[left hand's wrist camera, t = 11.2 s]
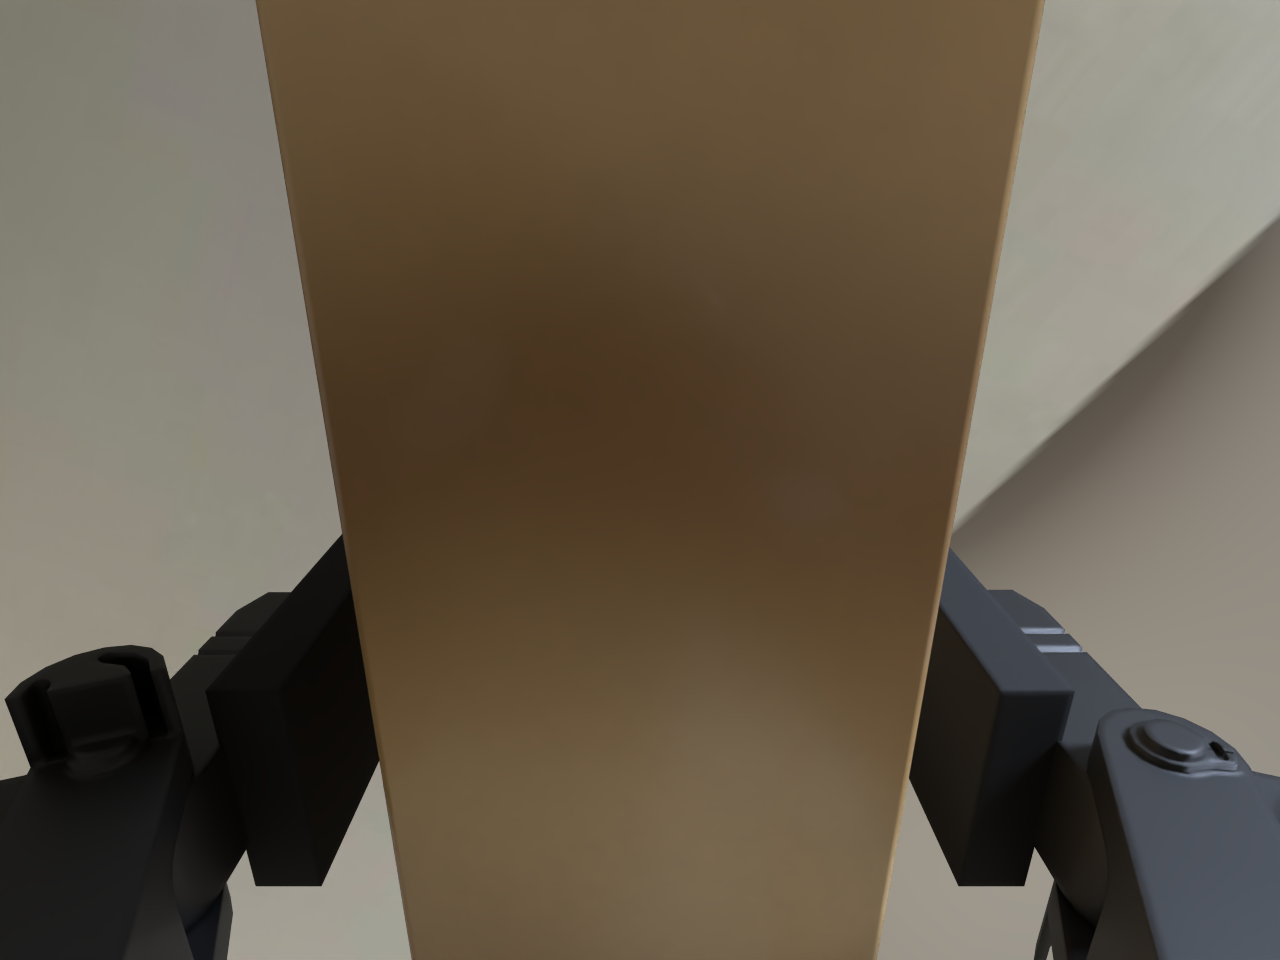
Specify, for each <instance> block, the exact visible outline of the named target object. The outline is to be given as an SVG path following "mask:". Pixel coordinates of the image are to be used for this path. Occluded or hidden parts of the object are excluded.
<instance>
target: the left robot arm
mask: <svg viewBox="0 0 1280 960" xmlns="http://www.w3.org/2000/svg"><path fill="white" fill-rule="evenodd" d="M198 651H199V653H198V655H193V656H192V657H191V659H190V660H189V661H188V662H187V663H186V664H185V665H184V666H183V667H182V668H181V669H180V670H179V671H178V672H177V673H176V674H175V675H174V676H173V677H172V678H171V679H169V675H168V671H167V668H166V664H165V661H164V657H163V656H162V655H161V654H160V653H158V652H157V651H155V650H154V649H152V648H149V647H142V646H135V645H126V646H115V647H104V648H101V649H97V650H93V651H89V652H85V653H81V654H77V655H74V656H72V657H69V658H67V659H64V660H62V661H60V662H57V663H55V664H52V665H50V666H48V667H45V668H44V669H42V670H40V671H39V672H37V673H36V674H34V675H32V676H31V677H29V678H27V679H26V680H24V681H23V682H21V683H20V684H19V685H18V686H17V687H16V688H15V689H14V690H13V691H12V692H11V693H10V694H9V695H8V696H7V697H6V698H5V702H6V704H7V707H8V709H9V712H10V715H11V717H12V720H13V723H14V725H15V728H16V730H17V733H18V736H19V738H20V741H21V743H22V746H23V749H24V751H25V754H26V757H27V759H28V762H29V764H30V767H31V768H30V770H29V772H28V774H27V775H24V776H20V777H15V778H10V779H5V780H0V960H227V954H228V946H229V939H230V931H231V924H232V916H233V911H232V904H231V897H230V893H229V890H228V886H227V880H228V879H229V877H230V875H231V874H232V872H233V870H234V869H235V867H236V866H237V864H238V862H239V861H240V859H241V857H242V856H243V854H244V852H245V851H246V850H247V854H248V858H249V862H250V866H251V870H252V873H253V877H254V881H255V885H256V886H322V884H323V882H324V879H325V877H326V875H327V873H328V871H329V869H330V866H331V864H332V862H333V860H334V858H335V856H336V853H337V851H338V849H339V847H340V845H341V842H342V840H343V838H344V836H345V834H346V832H347V829H348V827H349V825H350V823H351V821H352V819H353V816H354V814H355V812H356V810H357V808H358V806H359V803H360V801H361V799H362V797H363V795H364V792H365V790H366V788H367V786H368V784H369V782H370V779H371V777H372V775H373V773H374V771H375V769H376V766H377V764H378V762H379V755H378V749H377V743H376V736H375V730H374V724H373V718H372V712H371V706H370V700H369V693H368V687H367V681H366V675H365V669H364V663H363V657H362V650H361V644H360V638H359V632H358V626H357V620H356V614H355V607H354V601H353V595H352V589H351V583H350V577H349V571H348V565H347V558H346V552H345V546H344V540H343V534H342V535H341V536H340V537H339V538H338V539H337V540H336V542H335V543H334V544H333V545H332V546H331V547H330V548H329V550H328V551H327V552H326V553H325V554H324V555H323V556H322V558H321V559H320V560H319V561H318V562H317V563H316V564H315V566H314V567H313V568H312V569H311V570H310V571H309V572H308V574H307V575H306V576H305V577H304V578H303V579H302V580H301V582H300V583H299V584H298V585H297V586H296V587H295V588H294V590H293V591H292V592H268V593H266V594H265V595H263V596H261V597H259V598H258V599H256V600H254V601H253V602H251V603H249V604H247V605H246V606H244V607H242V608H241V609H239V610H237V611H236V612H235V613H234V614H233V615H232V616H231V617H230V618H229V619H228V620H227V621H226V622H225V623H224V624H223V625H222V626H221V627H220V628H219V630H218V631H217V632H216V636H215V637H211V638H210V639H209V640H208V641H207V642H206V643H205V644H204V645H203V646H202V647H201V648H200V649H199V650H198ZM909 779H910V781H911V784H912V786H913V788H914V790H915V792H916V795H917V797H918V799H919V801H920V803H921V805H922V808H923V810H924V812H925V814H926V816H927V819H928V821H929V823H930V825H931V827H932V829H933V832H934V834H935V836H936V838H937V840H938V842H939V845H940V847H941V849H942V851H943V853H944V855H945V858H946V860H947V862H948V864H949V866H950V869H951V871H952V873H953V875H954V877H955V879H956V882H957V884H958V886H1024V885H1025V881H1026V877H1027V874H1028V870H1029V866H1030V862H1031V858H1032V854H1033V850H1034V847H1035V848H1036V850H1037V852H1038V853H1039V855H1040V857H1041V858H1042V860H1043V861H1044V863H1045V865H1046V866H1047V868H1048V870H1049V871H1050V873H1051V875H1052V876H1053V878H1054V882H1053V886H1052V890H1051V893H1050V897H1049V900H1048V904H1047V907H1046V911H1045V915H1044V918H1043V922H1042V925H1041V929H1040V933H1039V936H1038V940H1037V943H1036V949H1035V956H1034V960H1046V958H1047V955H1048V952H1049V948H1050V946H1052V952H1053V959H1054V960H1280V777H1277V776H1272V775H1267V774H1262V773H1258V772H1254V771H1252V770H1251V768H1250V767H1249V765H1248V764H1247V763H1246V762H1245V760H1244V759H1243V758H1242V757H1241V755H1240V754H1239V753H1238V752H1237V750H1236V749H1235V748H1233V747H1232V746H1231V745H1229V744H1228V743H1226V742H1225V741H1224V740H1222V739H1221V738H1220V737H1218V736H1217V735H1215V734H1214V733H1213V732H1211V731H1209V730H1207V729H1205V728H1203V727H1201V726H1199V725H1197V724H1194V723H1192V722H1190V721H1188V720H1186V719H1184V718H1181V717H1177V716H1174V715H1170V714H1167V713H1164V712H1160V711H1157V710H1149V709H1142V708H1141V707H1140V706H1139V705H1138V704H1137V703H1136V702H1135V701H1134V700H1133V699H1132V698H1131V697H1130V696H1129V695H1128V694H1127V693H1126V692H1125V691H1124V690H1123V689H1122V688H1121V687H1120V686H1119V685H1118V684H1117V683H1116V682H1115V681H1114V680H1113V679H1112V678H1111V677H1110V676H1109V675H1108V674H1107V672H1106V671H1104V669H1103V668H1102V667H1101V666H1100V665H1099V664H1098V663H1097V662H1096V661H1095V660H1094V659H1093V658H1092V657H1091V656H1090V655H1089V654H1088V653H1087V652H1083V651H1082V647H1081V646H1080V645H1079V644H1078V643H1077V642H1076V641H1075V640H1074V639H1073V638H1072V637H1071V636H1070V634H1065V629H1064V628H1063V627H1062V626H1061V625H1060V624H1059V623H1058V622H1057V621H1056V620H1055V619H1054V618H1053V617H1052V616H1051V615H1050V614H1049V613H1048V612H1047V611H1046V610H1045V609H1044V608H1043V607H1041V606H1039V605H1038V604H1036V603H1034V602H1032V601H1031V600H1029V599H1027V598H1025V597H1024V596H1022V595H1020V594H1018V593H1017V592H1015V591H1013V590H986V588H985V587H984V586H983V585H982V584H981V583H980V582H979V580H978V579H977V578H976V577H975V576H974V575H973V574H972V573H971V571H970V570H969V569H968V568H967V567H966V566H965V564H964V563H963V562H962V561H961V560H960V559H959V558H958V556H957V555H956V554H955V553H954V552H953V551H952V550H951V548H950V547H949V551H948V557H947V562H946V568H945V574H944V579H943V585H942V591H941V597H940V602H939V608H938V614H937V619H936V625H935V631H934V636H933V642H932V648H931V654H930V659H929V665H928V671H927V676H926V682H925V688H924V694H923V699H922V705H921V711H920V716H919V722H918V728H917V733H916V739H915V745H914V751H913V756H912V762H911V768H910V773H909Z"/></svg>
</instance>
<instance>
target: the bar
mask: <svg viewBox="0 0 1280 960" xmlns="http://www.w3.org/2000/svg"><path fill="white" fill-rule="evenodd" d="M1044 3H1045V0H256V6H257V12H258V18H259V24H260V30H261V36H262V43H263V49H264V55H265V61H266V67H267V73H268V79H269V86H270V92H271V98H272V104H273V110H274V116H275V122H276V129H277V135H278V141H279V147H280V153H281V159H282V165H283V172H284V178H285V184H286V190H287V196H288V202H289V208H290V215H291V221H292V227H293V233H294V239H295V245H296V251H297V258H298V264H299V270H300V276H301V282H302V288H303V294H304V301H305V307H306V313H307V319H308V325H309V331H310V337H311V343H312V350H313V356H314V362H315V368H316V374H317V380H318V386H319V393H320V399H321V405H322V411H323V417H324V423H325V429H326V436H327V442H328V448H329V454H330V460H331V466H332V472H333V479H334V485H335V491H336V497H337V503H338V509H339V515H340V522H341V528H342V534H343V540H344V546H345V552H346V558H347V565H348V571H349V577H350V583H351V589H352V595H353V601H354V607H355V614H356V620H357V626H358V632H359V638H360V644H361V650H362V657H363V663H364V669H365V675H366V681H367V687H368V693H369V700H370V706H371V712H372V718H373V724H374V730H375V736H376V743H377V749H378V755H379V761H380V767H381V773H382V779H383V786H384V792H385V798H386V804H387V810H388V816H389V822H390V829H391V835H392V841H393V847H394V853H395V859H396V865H397V872H398V878H399V884H400V890H401V896H402V902H403V908H404V914H405V921H406V927H407V933H408V939H409V945H410V951H411V957H412V960H877V956H878V950H879V944H880V939H881V933H882V927H883V922H884V916H885V910H886V905H887V899H888V893H889V887H890V882H891V876H892V870H893V865H894V859H895V853H896V847H897V842H898V836H899V830H900V825H901V819H902V813H903V807H904V802H905V796H906V790H907V785H908V779H909V773H910V768H911V762H912V756H913V751H914V745H915V739H916V733H917V728H918V722H919V716H920V711H921V705H922V699H923V694H924V688H925V682H926V676H927V671H928V665H929V659H930V654H931V648H932V642H933V636H934V631H935V625H936V619H937V614H938V608H939V602H940V597H941V591H942V585H943V579H944V574H945V568H946V562H947V557H948V551H949V545H950V540H951V534H952V528H953V522H954V517H955V511H956V505H957V500H958V494H959V488H960V483H961V477H962V471H963V465H964V460H965V454H966V448H967V443H968V437H969V431H970V425H971V420H972V414H973V408H974V403H975V397H976V391H977V386H978V380H979V374H980V368H981V363H982V357H983V351H984V346H985V340H986V334H987V329H988V323H989V317H990V311H991V306H992V300H993V294H994V289H995V283H996V277H997V272H998V266H999V260H1000V254H1001V249H1002V243H1003V237H1004V232H1005V226H1006V220H1007V214H1008V209H1009V203H1010V197H1011V192H1012V186H1013V180H1014V175H1015V169H1016V163H1017V157H1018V152H1019V146H1020V140H1021V135H1022V129H1023V123H1024V118H1025V112H1026V106H1027V100H1028V95H1029V89H1030V83H1031V78H1032V72H1033V66H1034V60H1035V55H1036V49H1037V43H1038V38H1039V32H1040V26H1041V21H1042V15H1043V9H1044Z"/></svg>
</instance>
